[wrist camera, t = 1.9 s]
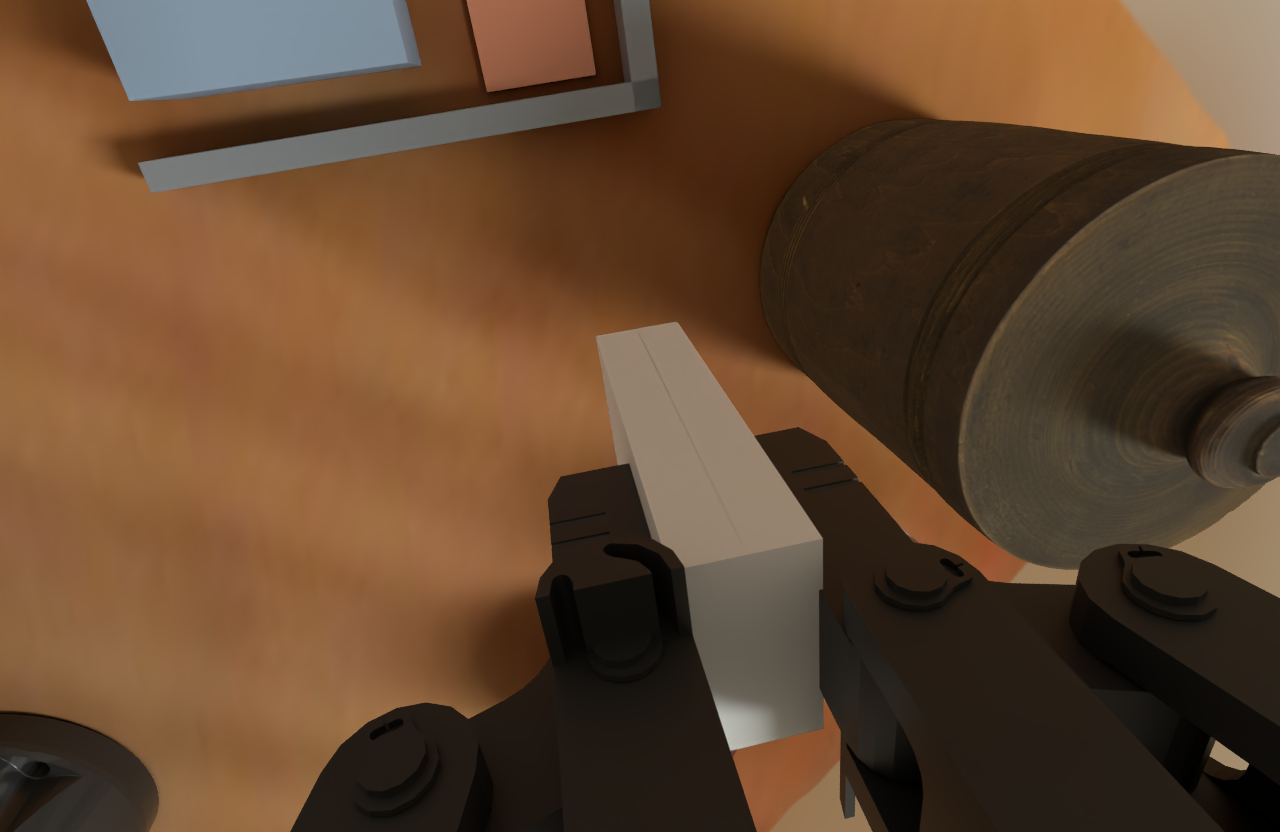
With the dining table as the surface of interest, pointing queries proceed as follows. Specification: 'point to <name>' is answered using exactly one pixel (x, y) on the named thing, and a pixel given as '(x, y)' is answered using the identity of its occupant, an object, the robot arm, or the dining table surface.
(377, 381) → the dining table surface
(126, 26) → the slate block
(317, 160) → the grey flat frame
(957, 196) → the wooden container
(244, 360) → the dining table surface
